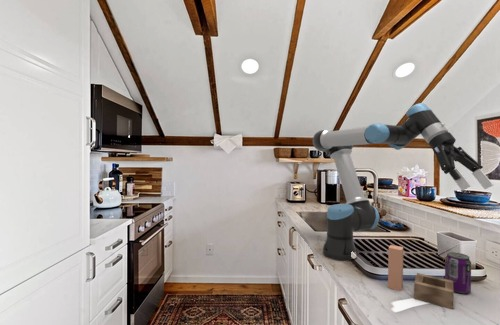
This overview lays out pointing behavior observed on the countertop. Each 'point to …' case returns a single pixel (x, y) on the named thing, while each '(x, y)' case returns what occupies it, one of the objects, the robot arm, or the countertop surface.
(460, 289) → the beverage can
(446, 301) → the socket block
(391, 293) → the countertop surface
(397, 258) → the peg
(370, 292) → the countertop surface
